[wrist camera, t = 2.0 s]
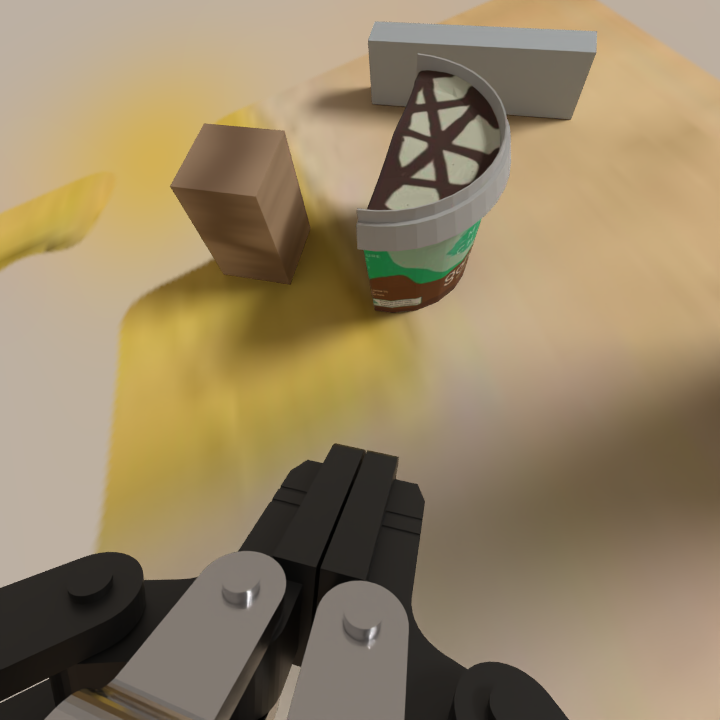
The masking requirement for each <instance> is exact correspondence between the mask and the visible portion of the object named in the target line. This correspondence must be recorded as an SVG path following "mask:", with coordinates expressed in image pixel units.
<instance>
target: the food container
mask: <svg viewBox="0 0 720 720" xmlns="http://www.w3.org/2000/svg"><path fill="white" fill-rule="evenodd" d="M510 164H511V135H510V126H509V123H508V120H507V116H506V111H505V108H504V106H503V103H502V101H501V99H500V97H499V96H498V94H497V93H496V91H495V90H494V89H493V88H492V87H491V85H490V84H489V83H488V82H487V81H486V80H485V79H483V78H482V77H481V76H479V75H478V74H477V73H475V72H474V71H472V70H470V69H468V68H466V67H465V66H463V65H461V64H458V63H456V62H453V61H450V60H448V59H444V58H440V57H436V56H432V55H425V54H419V53H418V54H417V72H416V79H415V82H414V87H413V90H412V93H411V95H410V98H409V100H408V103H407V105H406V108H405V110H404V112H403V115H402V117H401V119H400V121H399V123H398V125H397V127H396V129H395V131H394V134H393V137H392V140H391V143H390V146H389V149H388V153H387V156H386V159H385V162H384V164H383V167H382V170H381V173H380V176H379V179H378V182H377V184H376V187H375V189H374V192H373V195H372V197H371V200H370V203H369V205H368V208H367V209H357V218H358V222H357V224H356V228H357V249H360V250H364V255H365V260H366V266H367V271H368V276H369V282H370V287H371V292H372V298H373V303H374V308H375V310H376V311H383V312H390V313H395V312H405V311H414V310H418V309H421V308H423V307H426V306H428V305H431V304H433V303H436V302H438V301H439V300H440V299H442V298H443V297H444V296H445V295H447V294H448V293H449V292H450V291H452V290H453V289H454V288H455V286H456V285H457V283H458V282H459V280H460V279H461V277H462V275H463V272H464V269H465V266H466V263H467V260H468V257H469V254H470V251H471V248H472V246H473V243H474V240H475V237H476V234H477V231H478V228H479V225H480V222H481V219H482V218H483V217H484V216H485V215H486V214H487V213H488V212H489V211H490V210H491V208H492V207H493V206H494V205H495V204H496V203H497V201H498V200H499V198H500V196H501V194H502V193H503V191H504V189H505V187H506V184H507V181H508V178H509V174H510Z"/></svg>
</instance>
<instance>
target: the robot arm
mask: <svg viewBox="0 0 720 720" xmlns="http://www.w3.org/2000/svg"><path fill="white" fill-rule="evenodd" d="M398 460H399V457H396V456H392V455H387V454H382V453H378V452H373V451H369V450H368V451H367V452H366V451H365V450H363V449H359V448H354V447H349V446H345V445H340V444H334V445H333V446H332V448H331V450H330V452H329V453H328V455H327V457H326V459H325V461H324V463H319V462H315V461H310V460H307V461H305V462H303V463H302V464H300V465H299V466H297V467H296V468H294V469H292V470H291V471H290V472H289V474H288V476H287V477H286V479H285V480H284V482H283V483H282V485H281V488H280V489H278V491H277V492H276V494H275V495H274V497H273V499H272V502H270V503H269V505H268V506H267V508H266V509H265V511H264V512H263V514H262V515H261V517H260V519H259V520H258V522H257V523H256V525H255V526H254V528H253V529H252V531H251V532H250V534H249V535H248V537H247V539H246V540H245V542H244V543H243V545H242V546H241V548H240V549H239V551H238V552H234V553H231V554H227V555H225V556H222V557H220V558H218V559H217V560H215V561H213V562H212V563H211V564H210V565H208V566H207V567H206V568H205V569H204V570H203V571H202V573H201V574H200V575H199V576H198V577H196V578H191V579H177V580H144V577H143V571H142V567H141V565H140V564H139V562H138V561H137V560H136V559H134V558H133V557H131V556H129V555H126V554H123V553H117V552H105V553H98V554H93V555H89V556H86V557H83V558H80V559H77V560H75V561H72V562H69V563H67V564H64V565H62V566H59V567H56V568H53V569H50V570H48V571H45V572H42V573H40V574H37V575H34V576H32V577H29V578H26V579H24V580H21V581H18V582H15V583H13V584H10V585H7V586H5V587H2V588H0V701H2V700H4V699H6V698H8V697H10V696H12V695H14V694H16V693H18V692H21V691H23V690H25V689H27V688H29V687H31V686H33V685H35V684H36V683H39V682H41V681H43V680H45V679H47V678H49V679H48V680H46V681H44V682H42V683H40V684H38V685H36V686H34V687H32V688H30V689H28V690H26V691H24V692H22V693H20V694H18V695H16V696H14V697H12V698H10V699H8V700H6V701H4V702H2V703H0V720H274V718H275V715H276V712H277V710H278V705H279V697H280V695H281V692H282V690H283V687H284V684H285V682H286V679H287V676H288V674H289V671H290V668H291V666H292V664H293V665H297V666H300V667H301V669H300V673H299V677H298V680H297V684H296V688H295V691H294V695H293V699H292V702H291V706H290V709H289V713H288V717H287V720H569V719H568V718H567V717H566V715H565V714H564V713H563V712H562V710H561V709H560V708H559V706H558V705H557V704H556V703H555V701H554V700H553V699H552V697H551V696H550V695H549V694H548V693H547V692H546V690H545V689H544V688H543V687H542V686H541V685H540V684H539V683H538V682H537V681H535V680H534V679H533V678H532V677H530V676H529V675H528V674H526V673H525V672H523V671H521V670H519V669H517V668H515V667H513V666H510V665H508V664H504V663H499V662H483V663H479V664H476V665H474V666H472V667H471V668H469V669H466V668H464V667H463V666H461V665H460V664H458V663H457V662H455V661H454V660H452V659H450V658H449V657H447V656H446V655H444V654H443V653H441V652H440V651H439V650H437V649H436V648H435V647H434V646H433V645H432V644H431V643H430V642H429V641H428V640H427V639H426V638H425V637H424V635H423V634H422V633H421V631H420V629H419V628H418V626H417V624H416V622H415V620H414V616H413V613H412V606H411V600H412V591H413V584H414V576H415V569H416V562H417V555H418V547H419V540H420V533H421V526H422V518H423V511H424V504H425V501H424V498H423V496H422V494H421V491H420V489H419V487H418V484H414V483H409V482H405V481H400V480H396V473H397V467H398Z"/></svg>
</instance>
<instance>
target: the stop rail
mask: <svg viewBox="0 0 720 720" xmlns="http://www.w3.org/2000/svg"><path fill="white" fill-rule="evenodd" d="M596 46H597V31H576V30H554V29H531V28H509V27H487V26H464V25H442V24H420V23H397V22H375V23H374V26H373V28H372V31H371V34H370V36H369V39H368V48H369V64H370V80H371V96H372V104H379V105H392V106H405V107H406V105H407V103H408V100H409V98H410V95H411V93H412V90H413V87H414V82H415V79H416V72H417V54H418V53H419V54H425V55H432V56H436V57H440V58H444V59H448V60H450V61H453V62H456V63H458V64H461V65H463V66H465V67H466V68H468V69H470V70H472V71H474V72H475V73H477V74H478V75H479V76H481V77H482V78H483V79H485V80H486V81H487V82H488V83H489V84H490V85H491V87H492V88H493V89H494V90H495V91H496V93H497V94H498V96H499V97H500V99H501V101H502V103H503V106H504V108H505V111H506V114H508V115H521V116H534V117H547V118H559V119H571V118H572V115H573V112H574V110H575V107H576V105H577V102H578V99H579V97H580V94H581V91H582V89H583V86H584V84H585V81H586V78H587V76H588V73H589V70H590V68H591V65H592V62H593V60H594V57H595V55H596Z"/></svg>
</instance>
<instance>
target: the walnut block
mask: <svg viewBox="0 0 720 720" xmlns="http://www.w3.org/2000/svg"><path fill="white" fill-rule="evenodd" d="M170 187H171V189H172V190H173V192H174V193H175V195H176V197H177V198H178V200H179V202H180V203H181V205H182V207H183V208H184V210H185V211H186V213H187V215H188V216H189V218H190V220H191V221H192V223H193V225H194V226H195V228H196V230H197V231H198V233H199V234H200V236H201V238H202V240H203V241H204V243H205V244H206V246H207V247H208V249H209V251H210V253H211V254H212V256H213V258H214V259H215V261H216V263H217V264H218V266H219V267H220V269H221V271H222V272H223V274H226V275H232V276H239V277H245V278H252V279H258V280H264V281H271V282H277V283H284V284H291V282H292V279H293V276H294V273H295V270H296V267H297V265H298V262H299V259H300V256H301V253H302V251H303V248H304V245H305V242H306V239H307V237H308V234H309V231H310V225H309V221H308V217H307V213H306V210H305V206H304V202H303V198H302V195H301V191H300V187H299V184H298V180H297V176H296V172H295V169H294V165H293V161H292V157H291V154H290V150H289V146H288V143H287V139H286V135H285V131H281V130H270V129H259V128H248V127H237V126H226V125H215V124H204V125H203V127H202V128H201V130H200V132H199V134H198V136H197V138H196V139H195V141H194V143H193V145H192V147H191V149H190V151H189V152H188V154H187V156H186V158H185V160H184V162H183V164H182V165H181V167H180V169H179V171H178V173H177V174H176V176H175V178H174V180H173V182H172V184H171V186H170Z"/></svg>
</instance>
